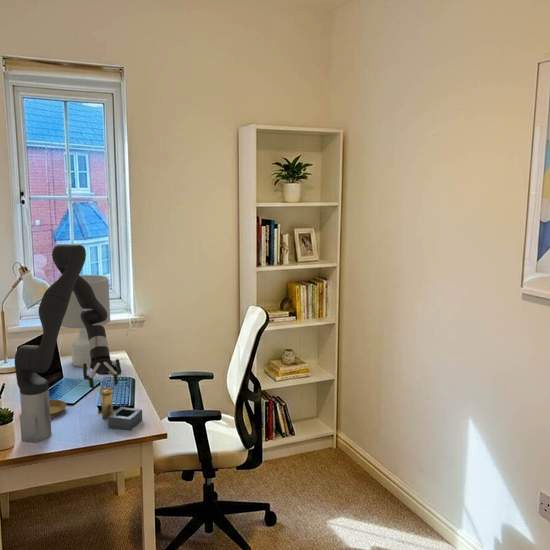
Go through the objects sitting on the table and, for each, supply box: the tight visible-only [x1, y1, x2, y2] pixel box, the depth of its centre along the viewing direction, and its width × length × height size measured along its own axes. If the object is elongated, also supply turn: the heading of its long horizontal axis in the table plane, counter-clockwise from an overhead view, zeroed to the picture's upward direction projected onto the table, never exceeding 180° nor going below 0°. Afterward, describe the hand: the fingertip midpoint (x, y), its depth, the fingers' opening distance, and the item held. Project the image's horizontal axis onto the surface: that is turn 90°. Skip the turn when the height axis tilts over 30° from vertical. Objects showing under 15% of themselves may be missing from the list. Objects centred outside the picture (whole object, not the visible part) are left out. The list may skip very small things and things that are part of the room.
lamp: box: [56, 274, 111, 368], centre depth 266 cm, size 24×24×42 cm
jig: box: [107, 406, 143, 432], centre depth 200 cm, size 9×9×4 cm
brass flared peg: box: [99, 386, 114, 420], centre depth 206 cm, size 5×5×11 cm
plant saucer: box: [49, 399, 67, 418], centre depth 210 cm, size 15×15×3 cm
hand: (104, 386), depth 209 cm, fingers open, 8 cm apart
